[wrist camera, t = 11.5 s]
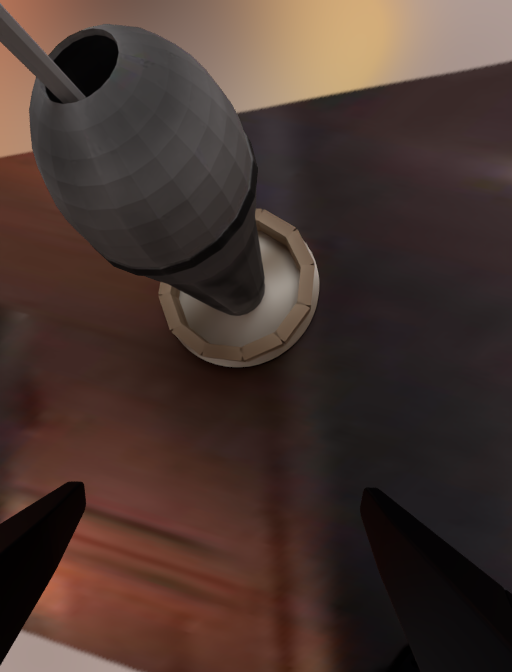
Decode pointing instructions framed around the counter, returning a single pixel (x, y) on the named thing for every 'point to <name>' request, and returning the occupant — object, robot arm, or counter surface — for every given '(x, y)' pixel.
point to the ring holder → (267, 318)
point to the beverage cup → (146, 159)
